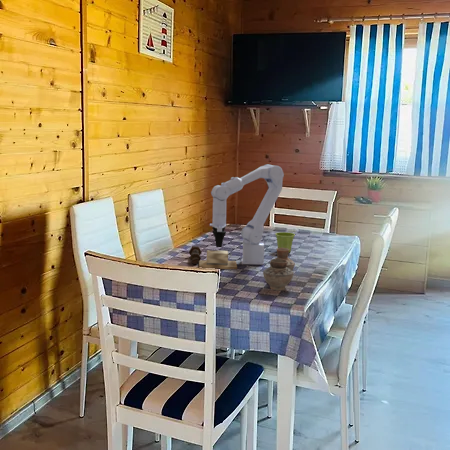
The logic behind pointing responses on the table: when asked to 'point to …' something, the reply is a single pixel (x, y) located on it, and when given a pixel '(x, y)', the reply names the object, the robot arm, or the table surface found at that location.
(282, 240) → the plant pot
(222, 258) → the block
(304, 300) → the table surface
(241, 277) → the table surface
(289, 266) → the pottery
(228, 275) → the table surface
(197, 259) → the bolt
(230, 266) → the board
